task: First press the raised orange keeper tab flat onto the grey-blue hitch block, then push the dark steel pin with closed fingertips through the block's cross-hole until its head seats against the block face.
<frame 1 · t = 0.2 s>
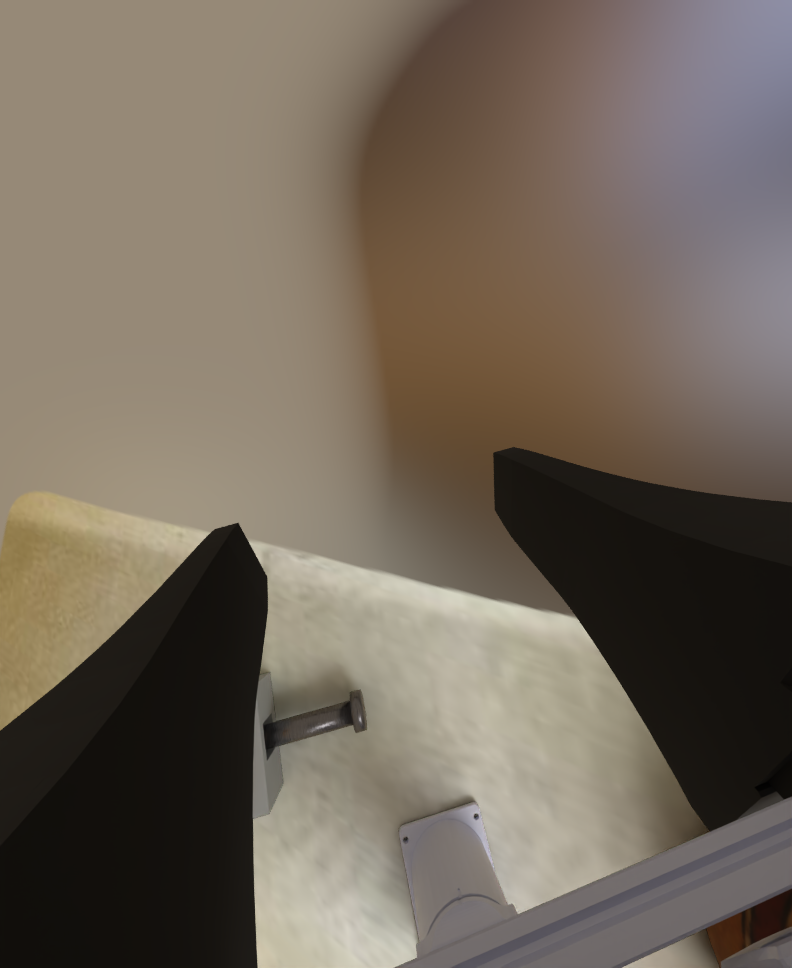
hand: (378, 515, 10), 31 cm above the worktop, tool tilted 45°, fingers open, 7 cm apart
pin: (306, 725, 33), point 2 cm above the worktop, slide at 0.0 cm
brown clay vase: (774, 897, 33), on the worktop
hitch block: (246, 734, 34), on the worktop
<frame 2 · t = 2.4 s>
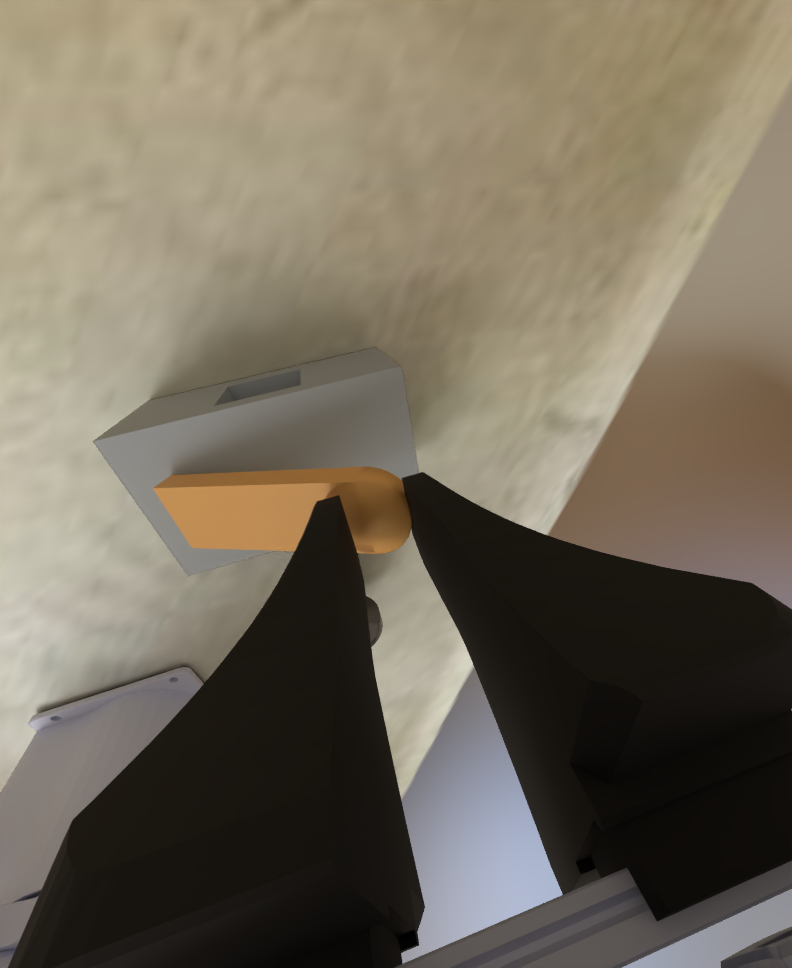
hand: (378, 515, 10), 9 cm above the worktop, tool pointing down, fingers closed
pin: (330, 564, 18), point 2 cm above the worktop, slide at 0.0 cm
keeper tab: (285, 512, 11), point 7 cm above the worktop, hinge at 26.7°, touching gripper
hitch block: (289, 435, 17), on the worktop
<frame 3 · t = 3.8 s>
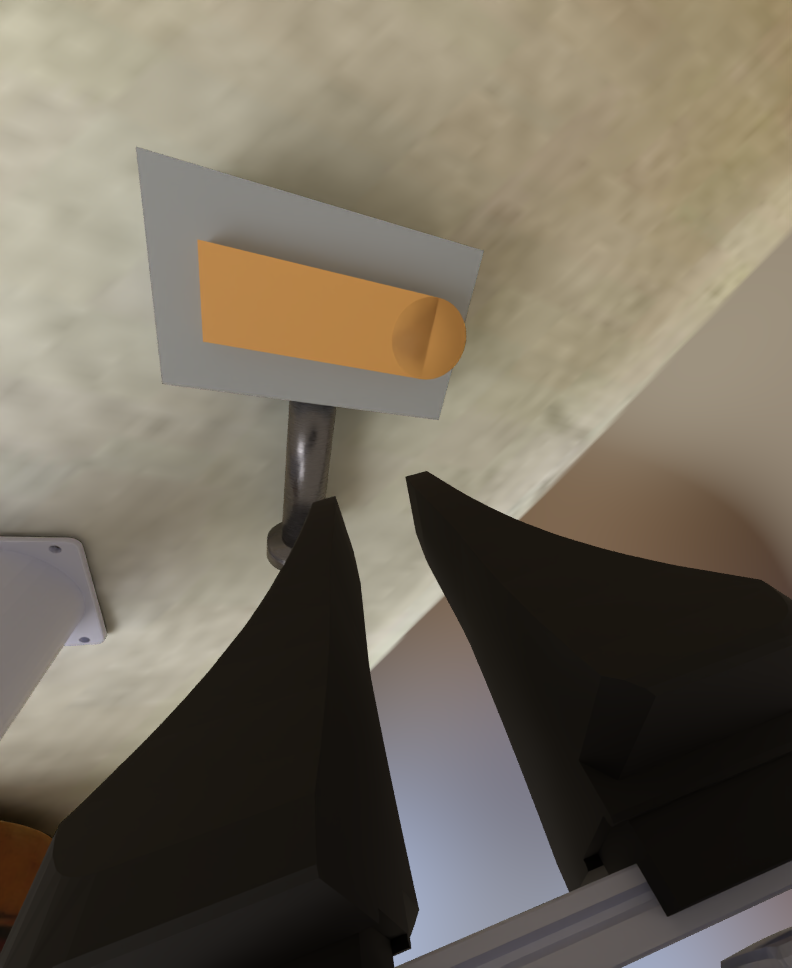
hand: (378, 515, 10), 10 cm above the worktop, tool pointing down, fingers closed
pin: (308, 461, 16), point 2 cm above the worktop, slide at 0.0 cm
keeper tab: (344, 322, 11), point 5 cm above the worktop, hinge at 1.9°, touching hitch block
hitch block: (319, 308, 15), on the worktop
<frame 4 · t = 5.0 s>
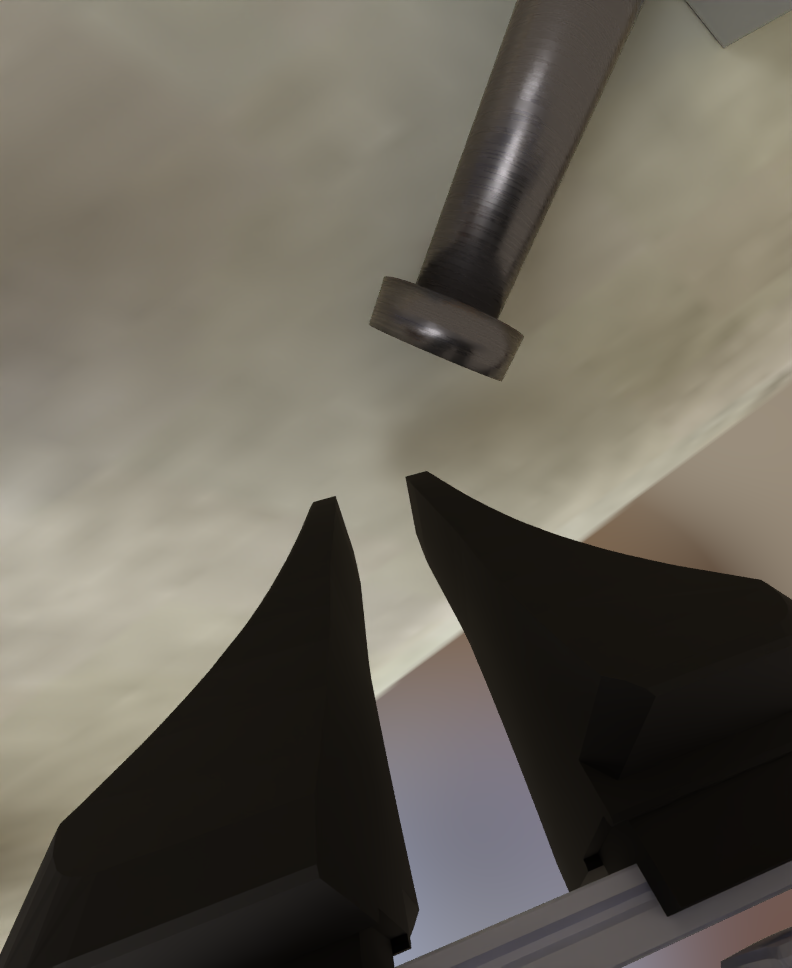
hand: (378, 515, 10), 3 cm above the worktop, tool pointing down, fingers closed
pin: (562, 42, 6), point 2 cm above the worktop, slide at 0.0 cm
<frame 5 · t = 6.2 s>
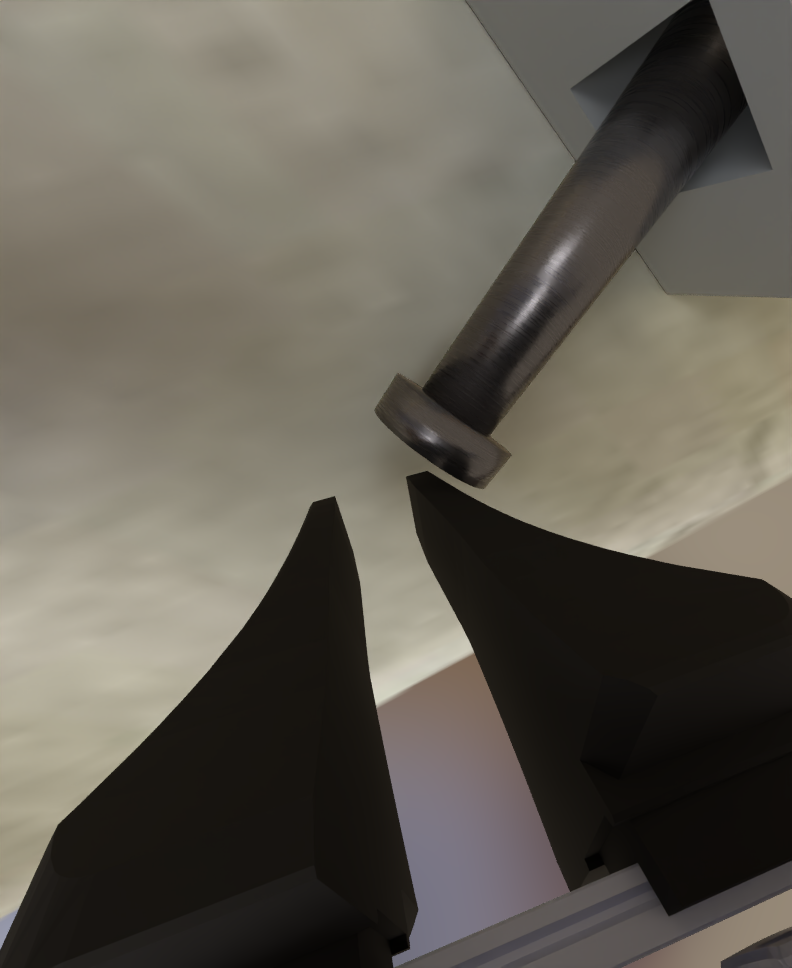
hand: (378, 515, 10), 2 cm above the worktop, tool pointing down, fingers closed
pin: (587, 231, 7), point 2 cm above the worktop, slide at 1.5 cm, touching gripper
hitch block: (674, 21, 8), on the worktop
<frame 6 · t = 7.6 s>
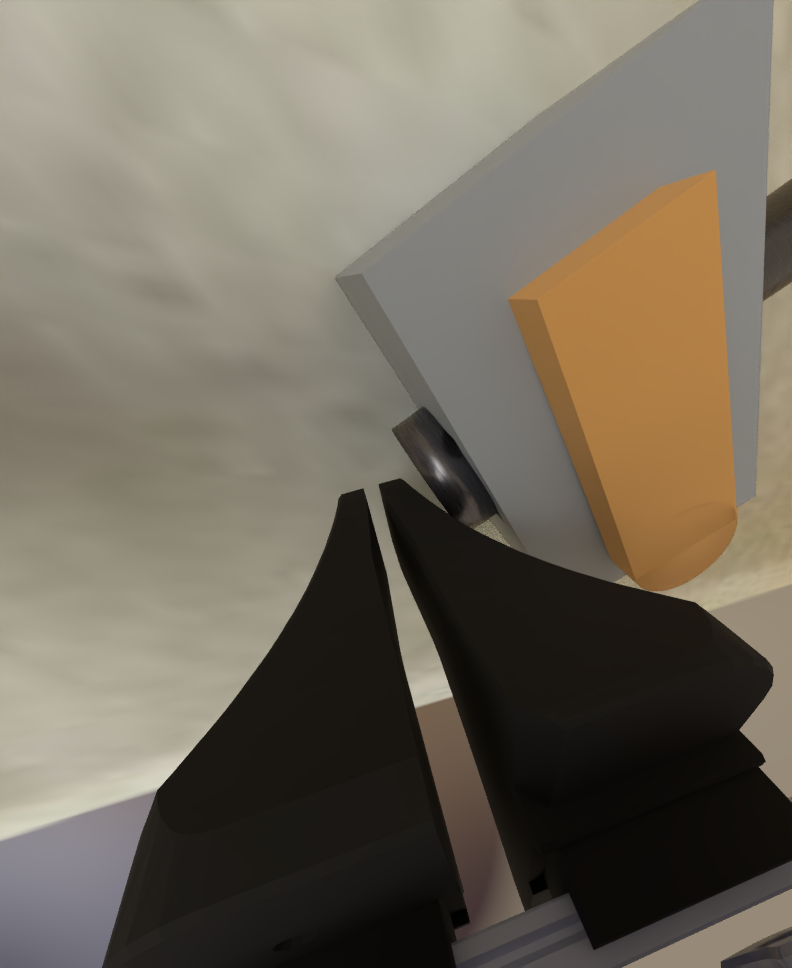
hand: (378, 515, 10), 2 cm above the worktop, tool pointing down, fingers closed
pin: (608, 357, 9), point 2 cm above the worktop, slide at 8.0 cm, touching gripper, hitch block
keeper tab: (650, 454, 7), point 5 cm above the worktop, hinge at 1.8°, touching hitch block
hitch block: (509, 372, 11), on the worktop
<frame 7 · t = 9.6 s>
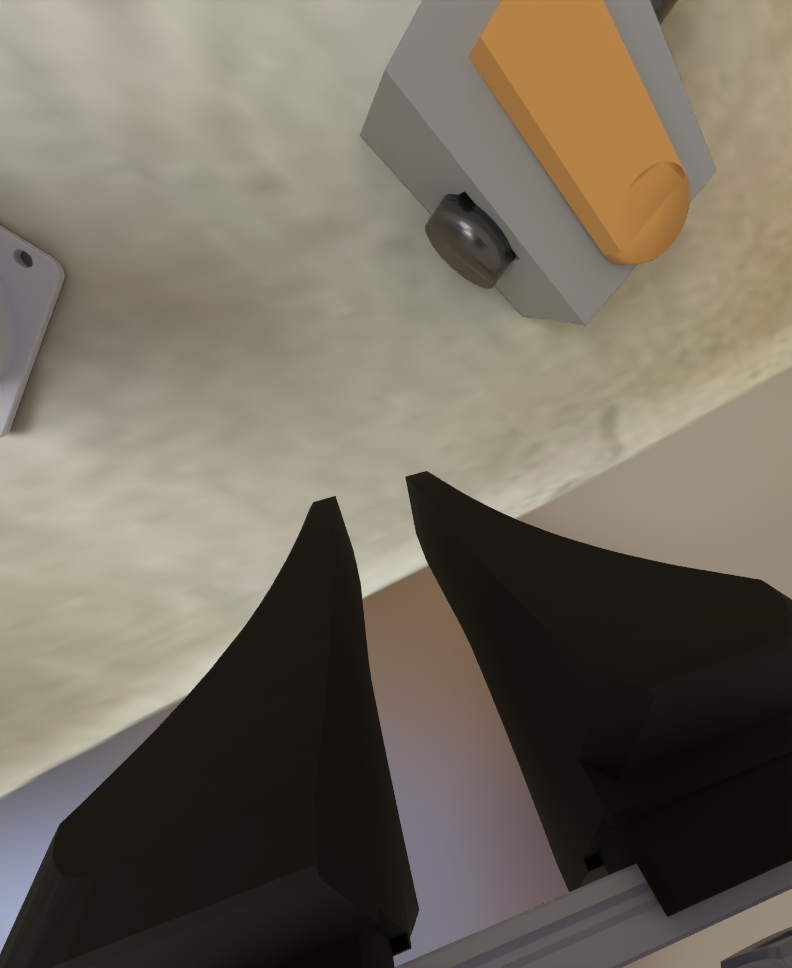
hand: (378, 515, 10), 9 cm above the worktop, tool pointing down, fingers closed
pin: (564, 106, 12), point 2 cm above the worktop, slide at 8.0 cm, touching hitch block
keeper tab: (598, 140, 10), point 5 cm above the worktop, hinge at 1.8°, touching hitch block
hitch block: (500, 170, 14), on the worktop
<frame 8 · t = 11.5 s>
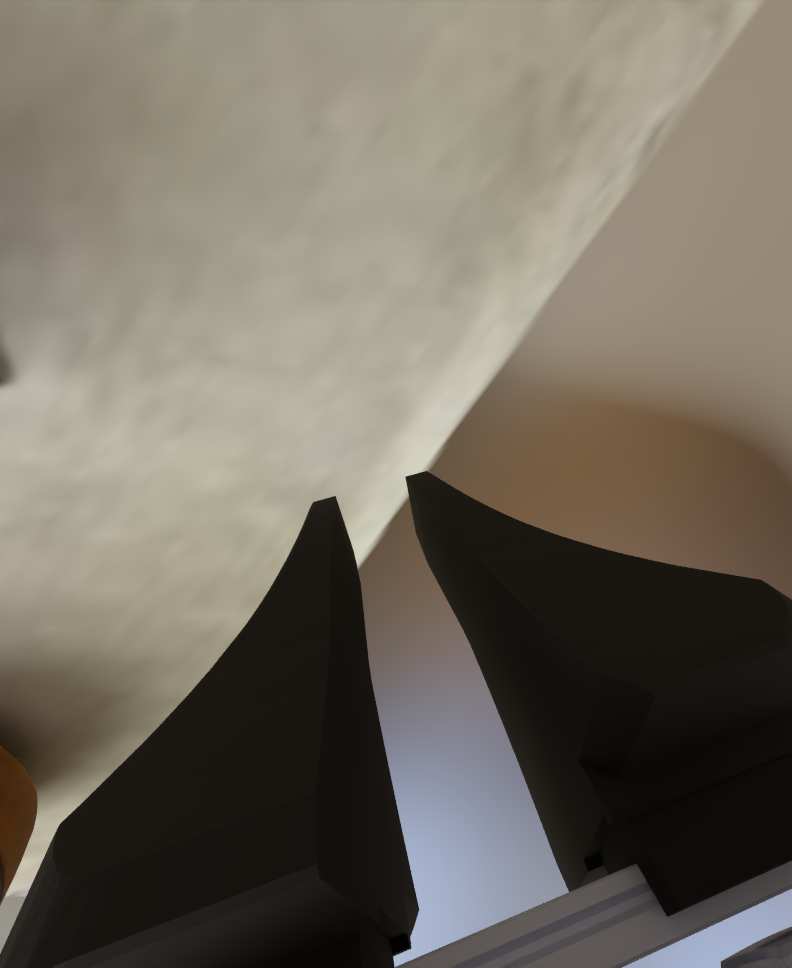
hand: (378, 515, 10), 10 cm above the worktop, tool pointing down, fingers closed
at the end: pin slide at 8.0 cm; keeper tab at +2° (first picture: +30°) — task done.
